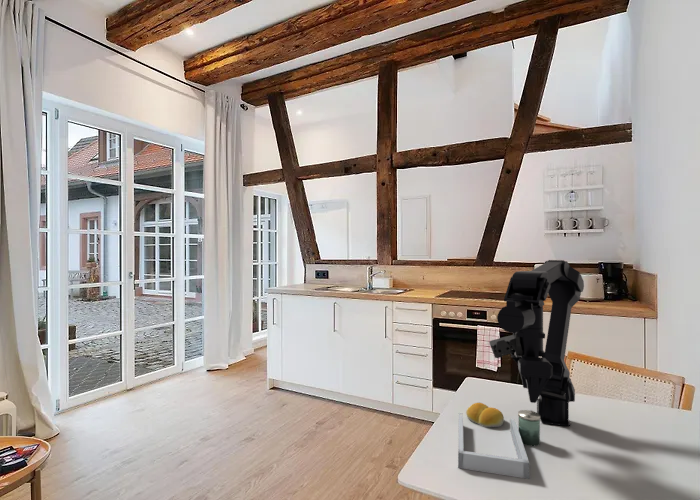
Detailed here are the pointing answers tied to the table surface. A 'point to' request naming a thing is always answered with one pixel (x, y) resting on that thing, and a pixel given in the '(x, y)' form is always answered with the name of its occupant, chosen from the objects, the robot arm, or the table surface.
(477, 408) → the bread roll
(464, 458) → the u-shaped frame
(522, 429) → the tea tin
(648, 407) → the table surface
